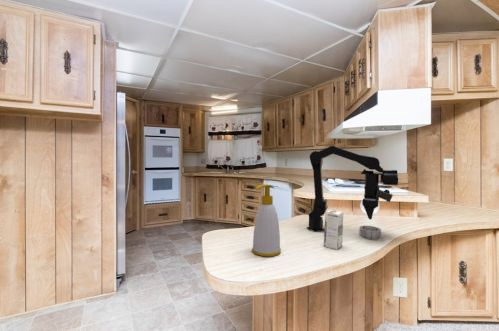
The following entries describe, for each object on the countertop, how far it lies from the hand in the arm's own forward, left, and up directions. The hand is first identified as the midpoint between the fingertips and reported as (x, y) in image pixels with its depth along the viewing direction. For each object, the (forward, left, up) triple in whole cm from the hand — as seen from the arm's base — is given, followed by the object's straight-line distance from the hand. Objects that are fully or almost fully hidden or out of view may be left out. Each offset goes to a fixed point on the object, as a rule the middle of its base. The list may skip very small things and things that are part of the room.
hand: (370, 217), depth 113 cm
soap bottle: (-53, +5, -9) cm, 54 cm away
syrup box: (-25, -2, -9) cm, 27 cm away
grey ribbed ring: (0, 0, -9) cm, 9 cm away
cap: (0, 0, -9) cm, 9 cm away
